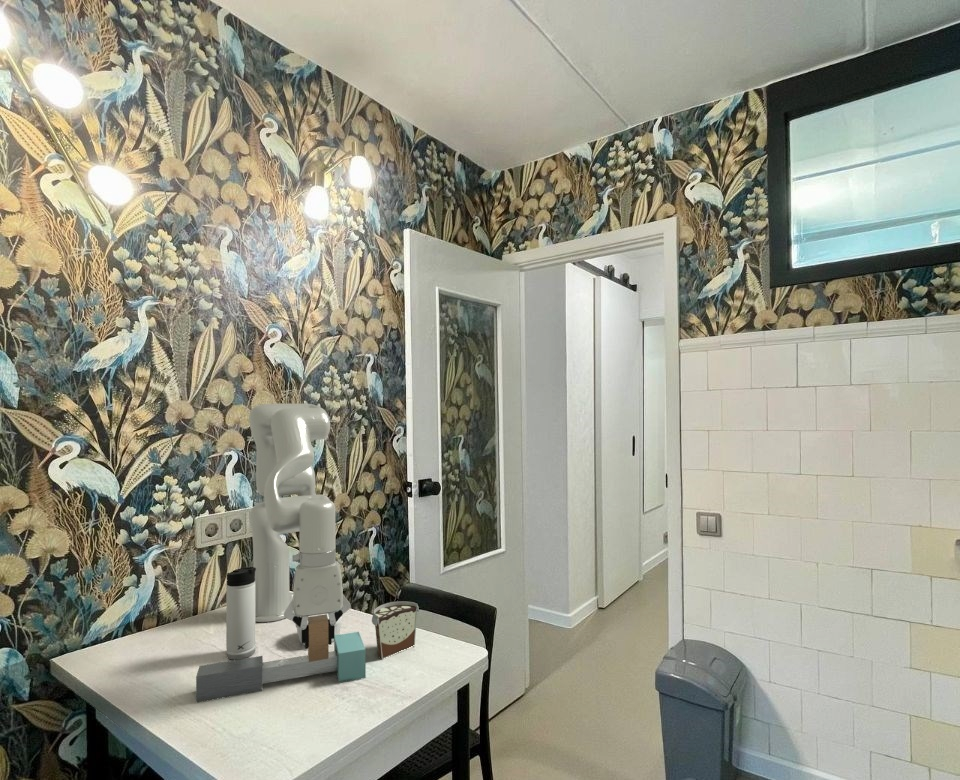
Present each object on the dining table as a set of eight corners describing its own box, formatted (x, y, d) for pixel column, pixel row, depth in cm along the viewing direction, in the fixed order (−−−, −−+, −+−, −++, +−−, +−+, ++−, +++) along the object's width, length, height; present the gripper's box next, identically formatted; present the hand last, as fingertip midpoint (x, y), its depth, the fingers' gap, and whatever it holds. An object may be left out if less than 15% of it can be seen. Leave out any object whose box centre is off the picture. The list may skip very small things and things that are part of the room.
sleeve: (196, 702, 108) (196, 676, 108) (199, 690, 112) (199, 665, 112) (261, 690, 112) (261, 665, 112) (262, 679, 116) (262, 655, 117)
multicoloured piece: (252, 686, 112) (252, 631, 112) (253, 677, 115) (253, 624, 116) (347, 669, 118) (347, 617, 119) (345, 661, 122) (345, 611, 122)
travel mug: (245, 661, 125) (245, 572, 126) (220, 659, 127) (220, 571, 127) (262, 649, 131) (262, 565, 132) (237, 647, 133) (237, 563, 133)
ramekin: (297, 652, 130) (297, 629, 130) (293, 635, 140) (293, 614, 140) (345, 643, 134) (345, 621, 134) (338, 627, 144) (338, 607, 145)
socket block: (338, 682, 115) (338, 653, 115) (334, 662, 124) (334, 635, 124) (365, 678, 116) (365, 649, 117) (359, 658, 126) (358, 631, 126)
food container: (404, 637, 137) (403, 597, 137) (419, 644, 133) (419, 603, 133) (361, 653, 128) (361, 610, 129) (376, 661, 124) (376, 616, 124)
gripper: (276, 567, 112) (276, 658, 112) (359, 558, 118) (359, 644, 118) (276, 558, 119) (276, 643, 119) (354, 550, 125) (355, 631, 125)
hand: (318, 643), depth 118 cm, fingers closed on multicoloured piece, 4 cm apart
